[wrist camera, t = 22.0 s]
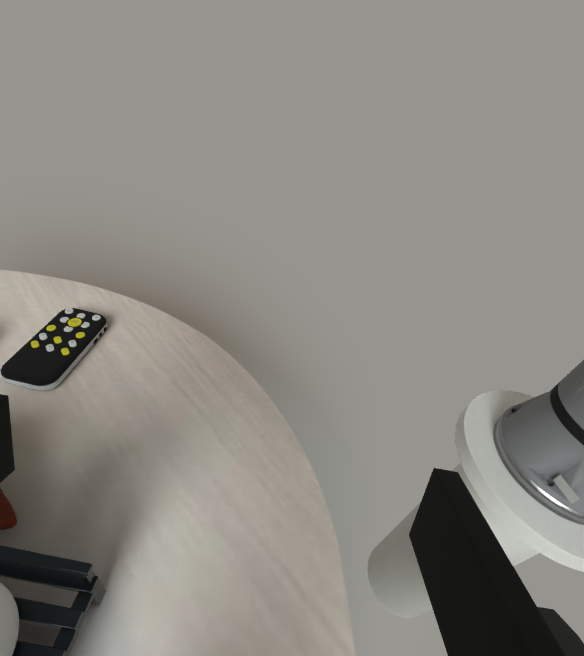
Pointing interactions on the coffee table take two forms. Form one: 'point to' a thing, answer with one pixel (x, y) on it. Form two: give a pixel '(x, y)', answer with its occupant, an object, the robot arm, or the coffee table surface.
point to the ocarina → (6, 513)
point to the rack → (67, 619)
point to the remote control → (54, 350)
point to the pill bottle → (8, 622)
